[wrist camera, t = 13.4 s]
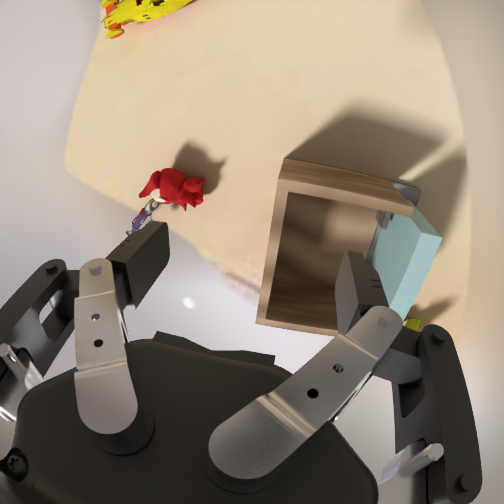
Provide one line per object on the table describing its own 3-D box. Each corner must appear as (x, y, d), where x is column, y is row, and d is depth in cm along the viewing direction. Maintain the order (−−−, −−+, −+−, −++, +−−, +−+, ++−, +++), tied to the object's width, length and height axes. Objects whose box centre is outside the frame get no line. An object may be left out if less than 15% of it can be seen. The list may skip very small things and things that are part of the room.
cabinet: (284, 157, 37) (278, 178, 28) (419, 188, 36) (452, 218, 26) (265, 277, 48) (255, 323, 38) (380, 296, 46) (393, 343, 36)
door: (391, 195, 36) (421, 232, 26) (416, 202, 36) (450, 239, 26) (361, 286, 45) (372, 338, 34) (383, 290, 44) (399, 341, 34)
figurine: (124, 208, 45) (176, 144, 38) (161, 236, 48) (218, 180, 42) (109, 229, 40) (165, 159, 33) (151, 260, 43) (213, 200, 37)
